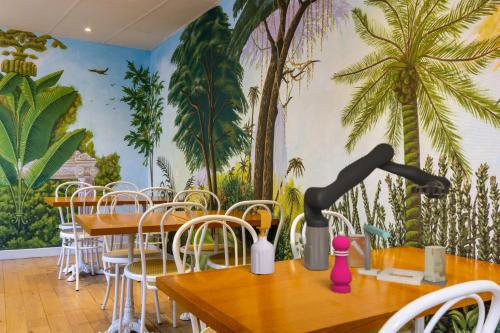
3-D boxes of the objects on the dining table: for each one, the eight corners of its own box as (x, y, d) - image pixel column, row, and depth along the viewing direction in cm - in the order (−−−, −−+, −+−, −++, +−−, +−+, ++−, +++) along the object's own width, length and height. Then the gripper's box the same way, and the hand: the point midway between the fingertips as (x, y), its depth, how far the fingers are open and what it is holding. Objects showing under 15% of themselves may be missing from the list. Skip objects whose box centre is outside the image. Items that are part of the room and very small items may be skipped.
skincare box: (434, 283, 150) (434, 248, 150) (424, 280, 154) (424, 246, 154) (446, 280, 153) (446, 246, 153) (436, 278, 157) (436, 244, 157)
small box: (349, 267, 176) (349, 236, 176) (347, 264, 183) (347, 233, 183) (369, 267, 176) (369, 236, 176) (366, 264, 182) (366, 233, 182)
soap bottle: (267, 268, 174) (267, 208, 174) (278, 273, 166) (278, 210, 166) (247, 271, 170) (247, 209, 170) (257, 276, 162) (257, 211, 162)
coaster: (423, 283, 152) (423, 281, 152) (426, 278, 158) (426, 277, 158) (444, 285, 149) (444, 284, 149) (447, 281, 155) (447, 279, 155)
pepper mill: (354, 289, 145) (354, 230, 145) (349, 295, 138) (349, 233, 138) (333, 286, 148) (333, 229, 148) (327, 292, 141) (327, 231, 141)
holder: (353, 276, 162) (353, 232, 162) (365, 268, 174) (365, 227, 174) (419, 285, 149) (419, 237, 149) (427, 276, 162) (427, 232, 162)
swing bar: (362, 229, 168) (362, 224, 168) (370, 229, 168) (370, 224, 168) (381, 237, 147) (381, 232, 147) (390, 237, 148) (390, 232, 148)
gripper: (416, 180, 187) (408, 181, 173) (452, 180, 179) (447, 181, 166) (416, 197, 187) (408, 199, 173) (452, 198, 179) (447, 201, 166)
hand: (427, 191), depth 169 cm, fingers open, 8 cm apart
